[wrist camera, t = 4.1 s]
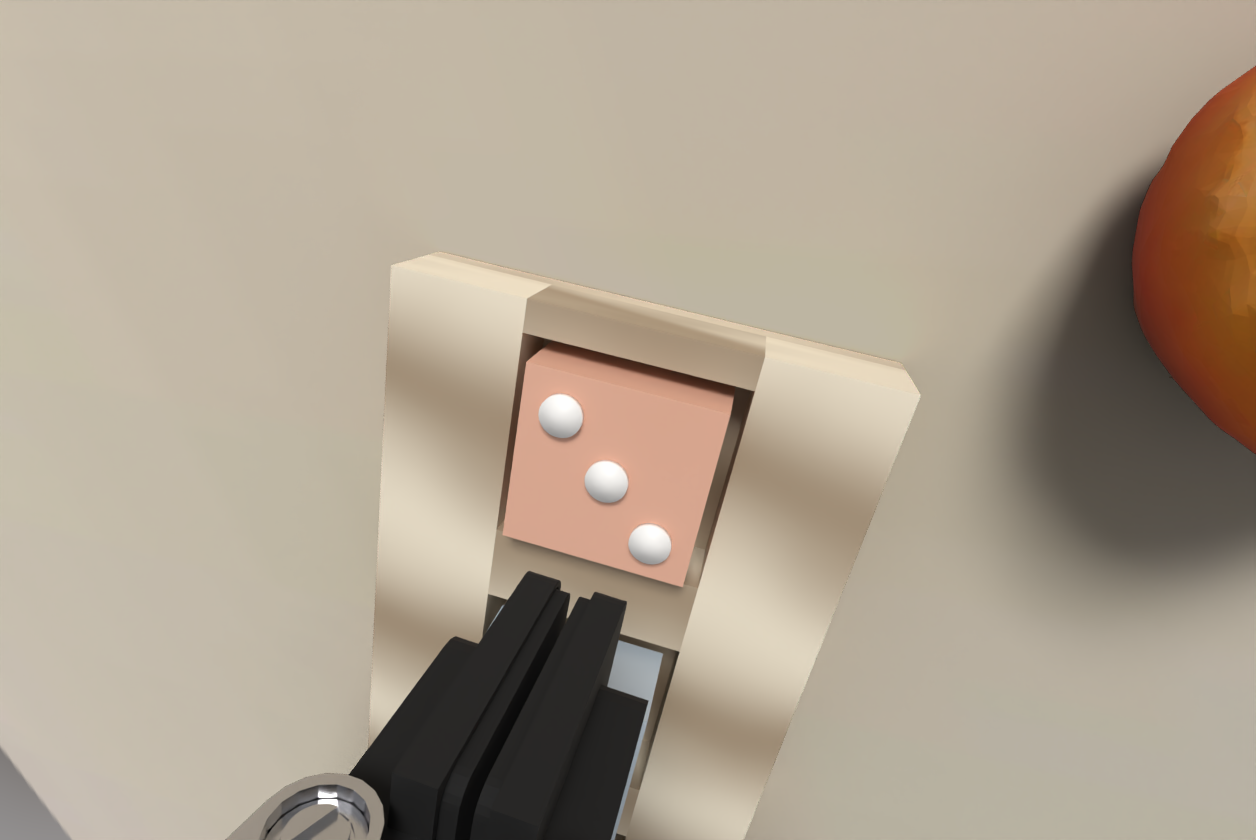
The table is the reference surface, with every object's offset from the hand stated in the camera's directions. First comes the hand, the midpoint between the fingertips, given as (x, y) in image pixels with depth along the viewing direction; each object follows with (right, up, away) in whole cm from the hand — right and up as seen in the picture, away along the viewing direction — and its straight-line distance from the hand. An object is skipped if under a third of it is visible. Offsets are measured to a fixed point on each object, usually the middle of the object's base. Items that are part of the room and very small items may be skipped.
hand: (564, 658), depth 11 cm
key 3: (+1, +3, +7) cm, 8 cm away
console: (0, -3, +10) cm, 11 cm away
